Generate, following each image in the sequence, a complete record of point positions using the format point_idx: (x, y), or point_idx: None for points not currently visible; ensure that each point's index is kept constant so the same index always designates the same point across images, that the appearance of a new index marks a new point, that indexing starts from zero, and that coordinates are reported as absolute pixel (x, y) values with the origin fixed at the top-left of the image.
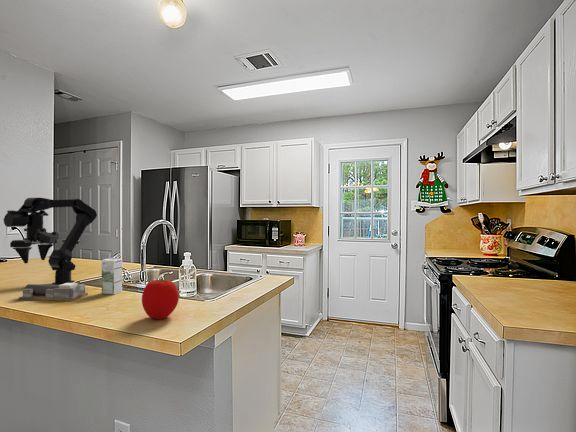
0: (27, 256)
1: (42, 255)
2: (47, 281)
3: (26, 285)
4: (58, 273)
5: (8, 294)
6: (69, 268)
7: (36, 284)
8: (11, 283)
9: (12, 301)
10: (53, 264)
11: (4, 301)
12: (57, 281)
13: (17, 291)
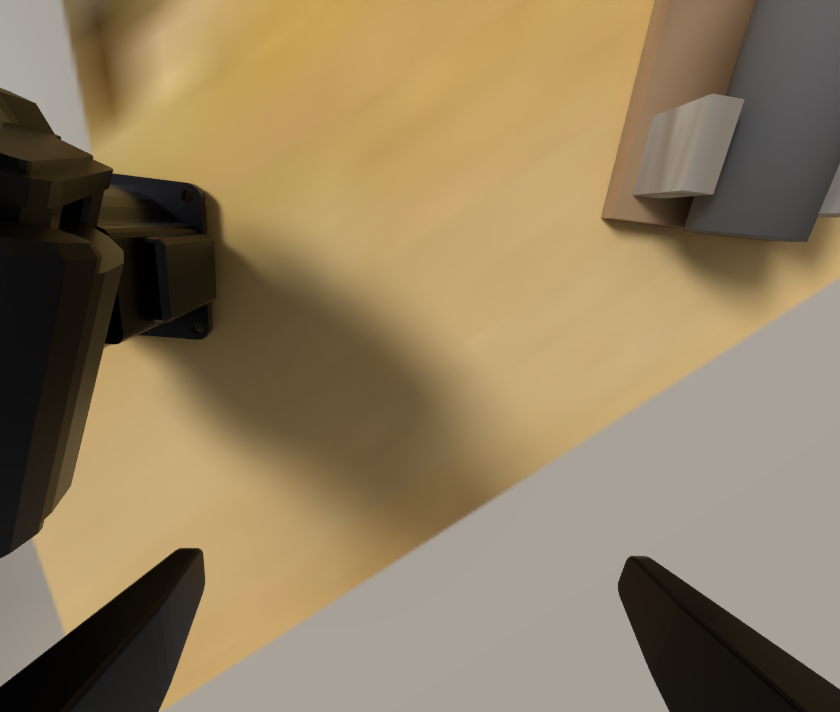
0: (810, 691)
1: (135, 696)
2: (88, 456)
3: (803, 240)
4: (139, 286)
5: (562, 433)
6: (2, 101)
7: (813, 142)
8: (211, 641)
9: (793, 263)
10: (93, 386)
11: (772, 320)
12: (207, 274)
13: (474, 437)
